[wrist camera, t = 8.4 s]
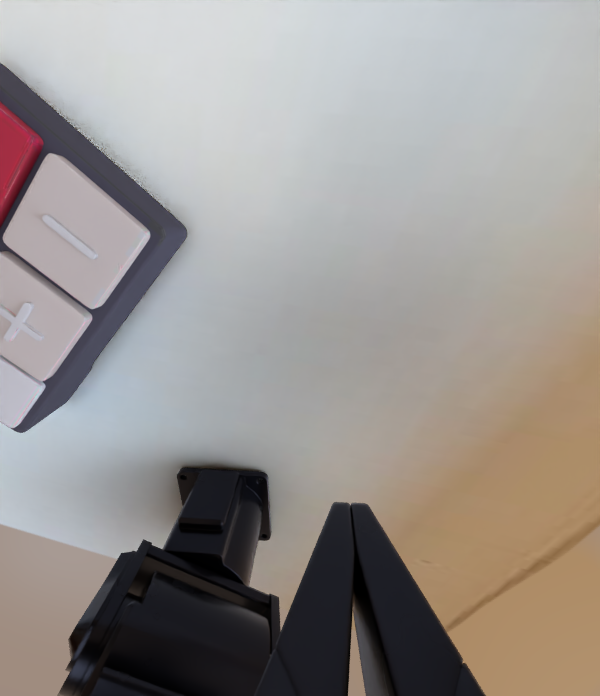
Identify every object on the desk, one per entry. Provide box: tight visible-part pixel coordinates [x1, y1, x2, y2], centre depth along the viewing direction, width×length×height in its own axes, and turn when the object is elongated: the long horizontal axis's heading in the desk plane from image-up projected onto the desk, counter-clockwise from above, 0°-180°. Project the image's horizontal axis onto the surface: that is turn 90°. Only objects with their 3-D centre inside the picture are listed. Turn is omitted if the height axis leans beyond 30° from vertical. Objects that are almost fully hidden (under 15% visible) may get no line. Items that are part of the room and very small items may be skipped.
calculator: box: [0, 63, 187, 433], centre depth 17 cm, size 11×4×15 cm
